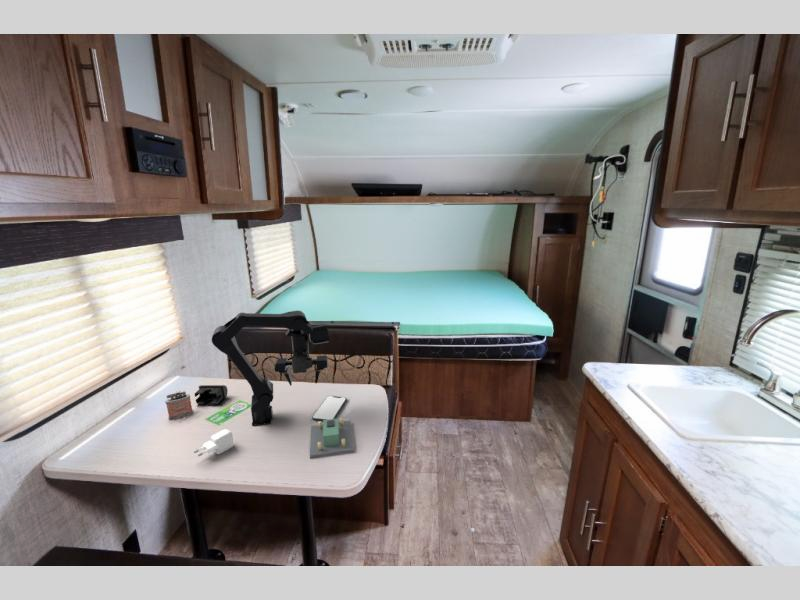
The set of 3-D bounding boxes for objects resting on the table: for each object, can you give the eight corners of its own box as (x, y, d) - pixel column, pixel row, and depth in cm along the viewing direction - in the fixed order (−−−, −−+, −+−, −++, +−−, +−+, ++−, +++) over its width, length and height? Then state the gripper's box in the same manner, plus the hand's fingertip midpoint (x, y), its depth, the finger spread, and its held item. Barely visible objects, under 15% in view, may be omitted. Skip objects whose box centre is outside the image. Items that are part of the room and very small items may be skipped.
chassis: (309, 458, 115) (308, 448, 114) (311, 428, 130) (310, 419, 129) (354, 451, 118) (353, 442, 117) (350, 423, 133) (350, 414, 132)
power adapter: (201, 466, 112) (198, 450, 111) (194, 460, 115) (191, 444, 114) (235, 447, 121) (233, 431, 119) (228, 441, 124) (225, 426, 122)
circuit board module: (324, 446, 119) (323, 434, 118) (324, 430, 127) (323, 418, 126) (339, 444, 120) (338, 432, 119) (338, 428, 128) (337, 417, 127)
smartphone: (333, 424, 133) (348, 400, 148) (332, 420, 133) (347, 397, 148) (310, 421, 135) (327, 398, 150) (310, 418, 135) (327, 395, 150)
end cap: (228, 397, 152) (226, 382, 150) (220, 406, 145) (218, 391, 143) (205, 397, 152) (202, 382, 150) (195, 406, 145) (192, 391, 143)
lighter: (192, 409, 143) (188, 387, 140) (193, 414, 140) (189, 390, 137) (168, 416, 138) (163, 393, 136) (169, 421, 136) (164, 397, 133)
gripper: (269, 356, 124) (274, 397, 128) (325, 352, 127) (328, 392, 131) (275, 344, 135) (279, 382, 139) (326, 340, 138) (329, 378, 142)
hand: (303, 384), depth 137 cm, fingers open, 9 cm apart
